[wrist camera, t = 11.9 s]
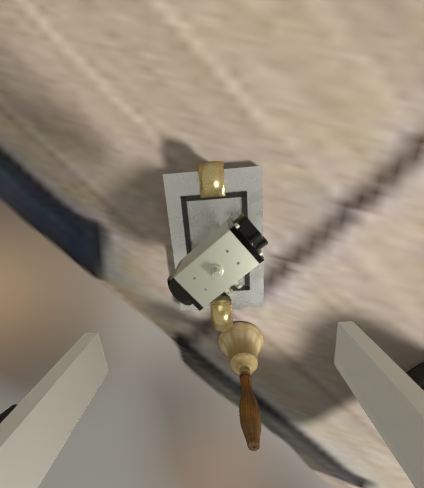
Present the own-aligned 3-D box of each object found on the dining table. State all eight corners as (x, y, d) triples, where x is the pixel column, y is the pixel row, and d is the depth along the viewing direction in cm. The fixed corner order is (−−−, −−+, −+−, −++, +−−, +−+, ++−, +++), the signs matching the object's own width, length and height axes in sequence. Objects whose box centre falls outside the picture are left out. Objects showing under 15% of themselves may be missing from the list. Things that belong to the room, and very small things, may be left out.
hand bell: (247, 365, 39) (266, 481, 23) (210, 346, 38) (204, 453, 23) (272, 334, 37) (310, 438, 21) (233, 313, 36) (244, 406, 21)
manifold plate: (261, 303, 35) (271, 329, 29) (182, 307, 36) (174, 333, 30) (259, 163, 29) (271, 156, 23) (164, 171, 30) (150, 166, 24)
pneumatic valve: (179, 256, 32) (156, 294, 20) (236, 206, 30) (247, 217, 18) (202, 280, 33) (194, 330, 21) (259, 233, 30) (285, 261, 19)
